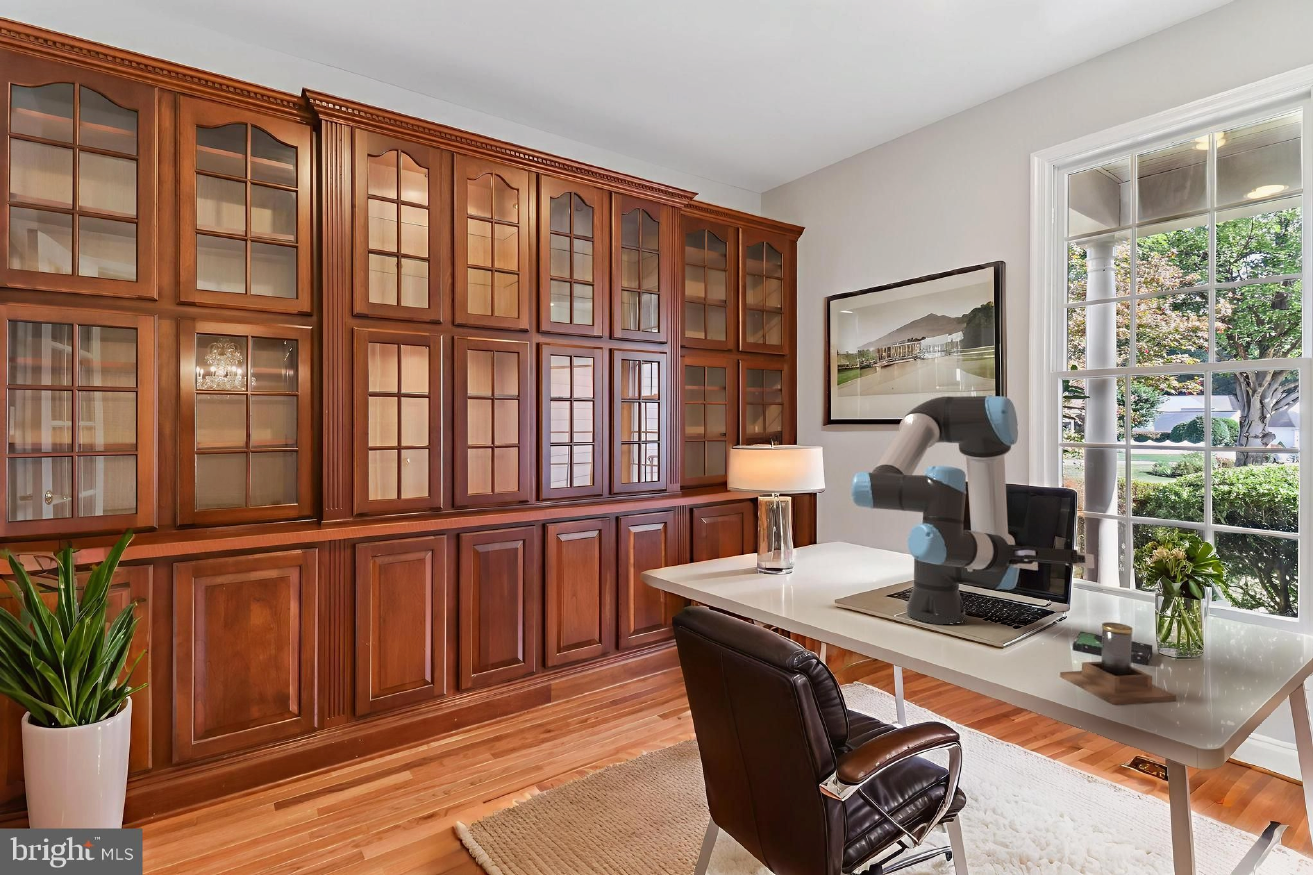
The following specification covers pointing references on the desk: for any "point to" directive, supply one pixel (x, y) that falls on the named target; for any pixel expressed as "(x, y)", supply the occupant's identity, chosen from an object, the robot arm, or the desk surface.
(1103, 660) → the grey post
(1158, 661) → the desk surface
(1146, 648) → the disk drive
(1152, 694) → the socket base
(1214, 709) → the desk surface
